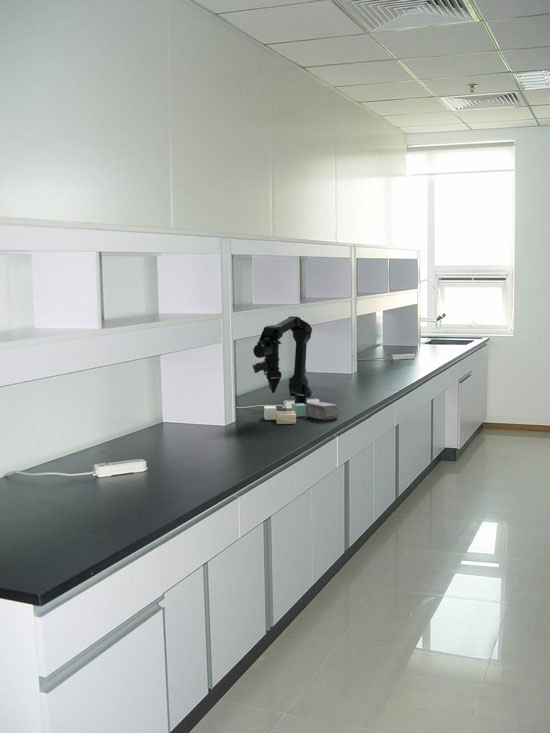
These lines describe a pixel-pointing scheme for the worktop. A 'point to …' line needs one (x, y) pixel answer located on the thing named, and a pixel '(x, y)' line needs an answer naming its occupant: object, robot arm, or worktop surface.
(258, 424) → the worktop surface
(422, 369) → the worktop surface
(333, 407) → the decorative stone
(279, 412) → the maple block
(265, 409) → the cream cube
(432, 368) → the worktop surface
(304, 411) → the teal cube
